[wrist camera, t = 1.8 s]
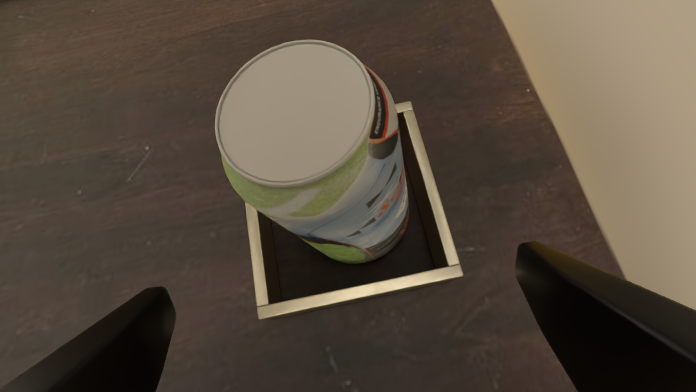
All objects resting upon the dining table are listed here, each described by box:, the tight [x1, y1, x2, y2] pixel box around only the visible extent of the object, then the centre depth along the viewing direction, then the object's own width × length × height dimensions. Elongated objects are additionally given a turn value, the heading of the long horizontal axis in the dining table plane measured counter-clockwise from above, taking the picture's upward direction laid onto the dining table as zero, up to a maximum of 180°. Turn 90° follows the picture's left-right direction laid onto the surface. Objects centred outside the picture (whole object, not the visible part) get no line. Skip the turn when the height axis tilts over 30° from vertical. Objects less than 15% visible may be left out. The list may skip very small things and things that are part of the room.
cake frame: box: [245, 101, 463, 320], centre depth 20 cm, size 10×10×3 cm
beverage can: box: [215, 40, 410, 264], centre depth 16 cm, size 6×7×12 cm
